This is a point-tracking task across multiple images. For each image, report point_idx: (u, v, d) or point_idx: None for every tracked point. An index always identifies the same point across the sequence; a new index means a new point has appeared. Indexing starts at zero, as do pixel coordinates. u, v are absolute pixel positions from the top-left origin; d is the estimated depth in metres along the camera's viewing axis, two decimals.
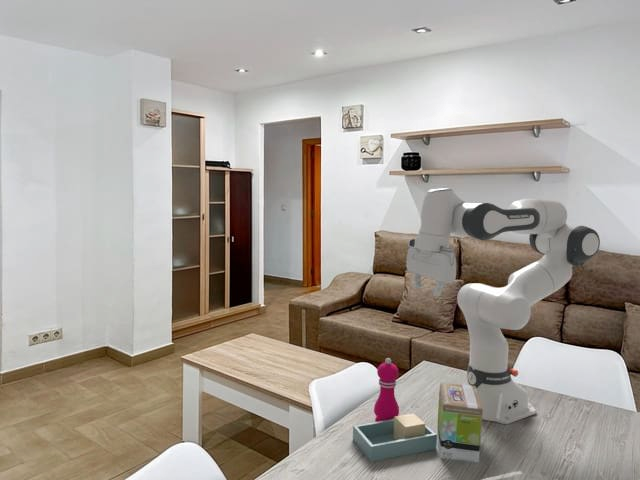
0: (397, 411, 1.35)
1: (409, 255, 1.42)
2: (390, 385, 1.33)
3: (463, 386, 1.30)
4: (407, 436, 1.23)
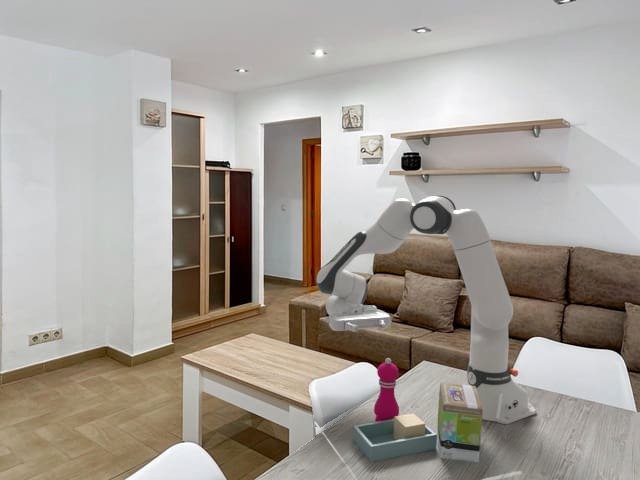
0: (397, 411, 1.35)
1: None
2: (390, 385, 1.33)
3: (463, 386, 1.30)
4: (407, 436, 1.23)
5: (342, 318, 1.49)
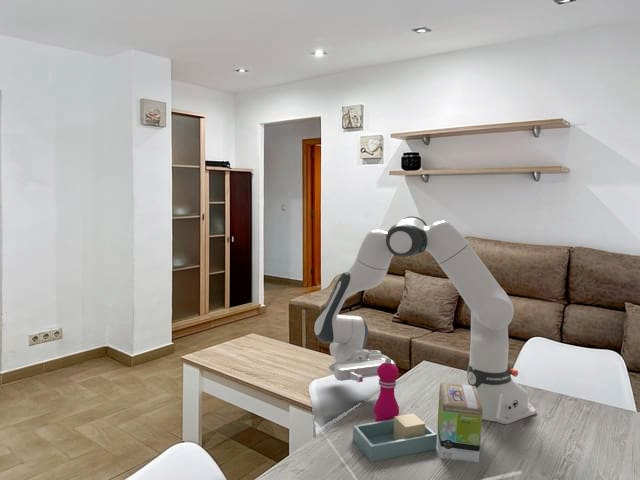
0: (397, 411, 1.35)
1: None
2: (390, 385, 1.33)
3: (463, 386, 1.30)
4: (407, 436, 1.23)
5: (346, 367, 1.47)
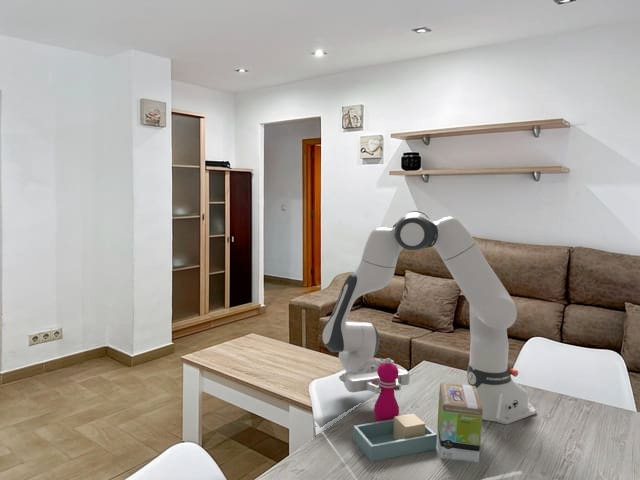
0: (397, 411, 1.35)
1: None
2: (390, 385, 1.33)
3: (463, 386, 1.30)
4: (407, 436, 1.23)
5: (358, 378, 1.39)
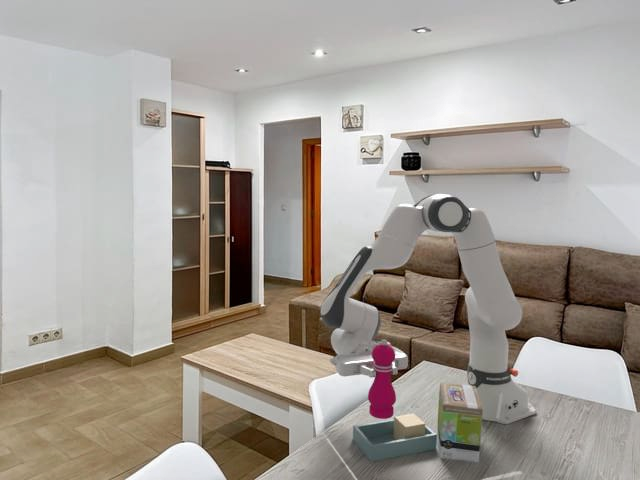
0: (393, 398, 1.21)
1: None
2: (386, 369, 1.20)
3: (463, 386, 1.30)
4: (407, 436, 1.23)
5: (351, 360, 1.25)
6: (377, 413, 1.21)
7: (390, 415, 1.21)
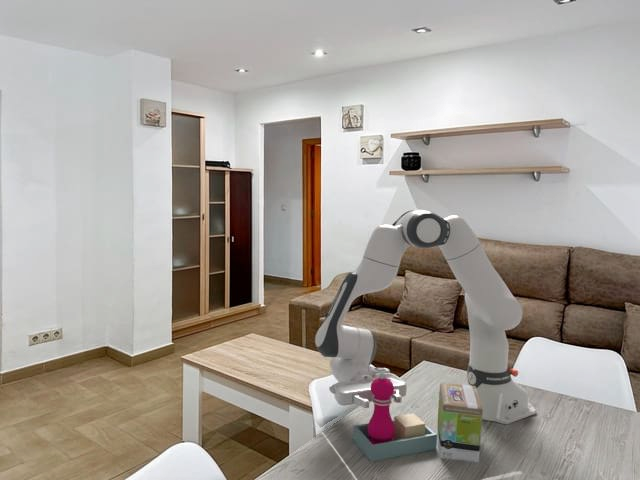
0: (393, 431, 1.22)
1: None
2: (385, 403, 1.21)
3: (463, 386, 1.30)
4: (407, 436, 1.23)
5: (350, 389, 1.26)
6: None
7: None
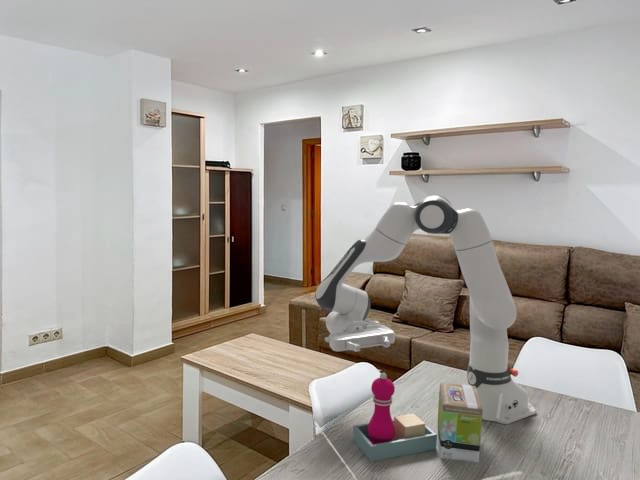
0: (393, 431, 1.22)
1: None
2: (385, 403, 1.21)
3: (463, 386, 1.30)
4: (407, 436, 1.23)
5: (343, 337, 1.39)
6: None
7: None
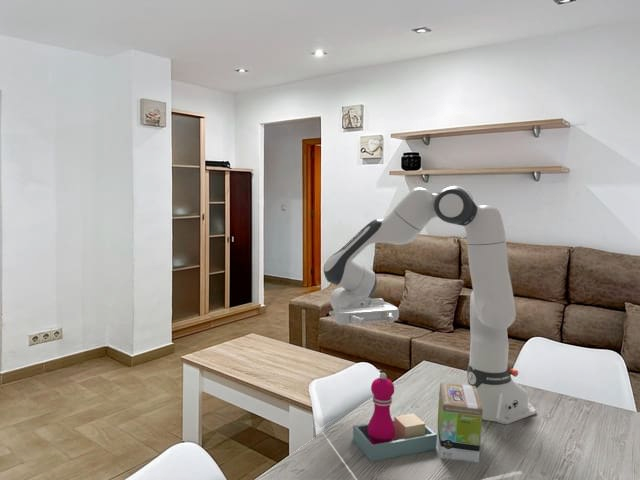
0: (393, 431, 1.22)
1: None
2: (385, 403, 1.21)
3: (463, 386, 1.30)
4: (407, 436, 1.23)
5: (347, 311, 1.40)
6: None
7: None
